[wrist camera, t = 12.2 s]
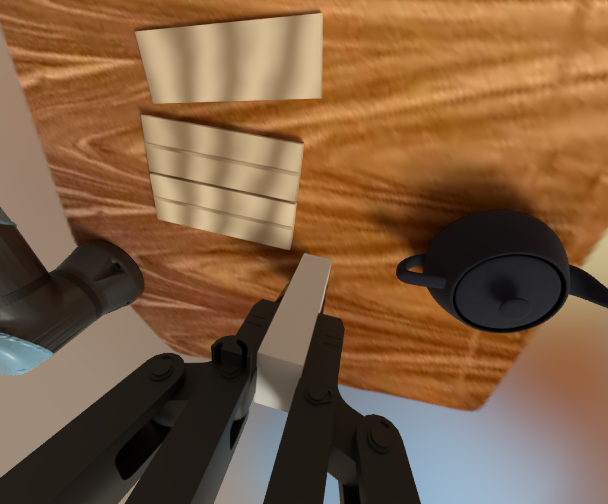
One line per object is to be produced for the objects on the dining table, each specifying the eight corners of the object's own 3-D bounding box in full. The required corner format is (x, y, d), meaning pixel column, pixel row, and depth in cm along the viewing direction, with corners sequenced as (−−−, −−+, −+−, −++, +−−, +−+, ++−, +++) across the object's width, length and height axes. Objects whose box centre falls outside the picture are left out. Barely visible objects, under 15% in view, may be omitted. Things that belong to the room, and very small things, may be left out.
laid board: (154, 169, 44) (149, 171, 43) (146, 114, 40) (140, 115, 39) (297, 199, 41) (295, 202, 40) (304, 143, 37) (302, 144, 36)
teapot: (386, 288, 45) (389, 345, 34) (401, 196, 37) (411, 234, 27) (563, 310, 40) (630, 384, 29) (622, 209, 32) (740, 260, 22)
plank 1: (159, 103, 39) (153, 103, 38) (142, 33, 35) (135, 31, 34) (322, 98, 34) (321, 98, 33) (323, 16, 30) (321, 13, 29)
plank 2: (162, 216, 48) (157, 219, 47) (155, 171, 44) (149, 174, 43) (291, 246, 45) (289, 250, 44) (296, 202, 41) (294, 205, 40)
